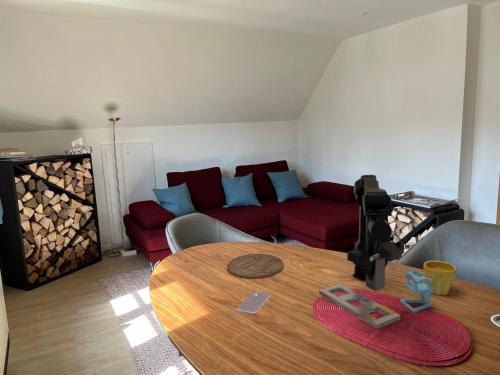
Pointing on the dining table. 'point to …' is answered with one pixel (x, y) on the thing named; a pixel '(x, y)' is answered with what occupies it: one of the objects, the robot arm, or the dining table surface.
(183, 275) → the dining table surface
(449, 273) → the plant pot
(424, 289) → the light blue stand
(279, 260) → the trivet
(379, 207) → the robot arm
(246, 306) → the mobile phone
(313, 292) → the dining table surface
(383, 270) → the steel peg
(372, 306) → the grey slotted board
